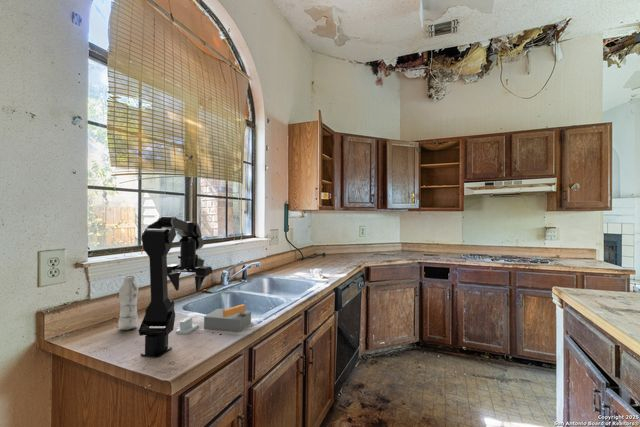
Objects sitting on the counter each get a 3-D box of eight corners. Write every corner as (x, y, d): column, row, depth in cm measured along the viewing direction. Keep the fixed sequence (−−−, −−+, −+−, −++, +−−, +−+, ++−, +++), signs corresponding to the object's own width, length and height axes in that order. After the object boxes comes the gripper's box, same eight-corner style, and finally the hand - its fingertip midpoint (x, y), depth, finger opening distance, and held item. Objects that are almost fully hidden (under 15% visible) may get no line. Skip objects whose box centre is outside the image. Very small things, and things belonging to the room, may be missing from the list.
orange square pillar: (245, 314, 117) (245, 304, 117) (225, 320, 109) (225, 310, 109) (242, 313, 118) (242, 304, 118) (222, 319, 110) (222, 309, 110)
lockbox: (240, 331, 111) (240, 319, 111) (203, 328, 114) (204, 316, 114) (251, 322, 121) (251, 311, 121) (217, 319, 124) (217, 308, 124)
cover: (187, 335, 108) (187, 323, 108) (175, 333, 109) (175, 322, 109) (198, 327, 115) (198, 317, 115) (187, 326, 116) (187, 316, 116)
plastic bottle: (122, 333, 108) (123, 279, 108) (115, 329, 112) (116, 276, 112) (141, 328, 113) (142, 276, 113) (134, 324, 117) (134, 274, 117)
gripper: (219, 251, 125) (219, 287, 125) (180, 249, 129) (179, 284, 129) (204, 254, 114) (204, 294, 114) (162, 252, 118) (161, 291, 118)
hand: (187, 291), depth 119 cm, fingers open, 9 cm apart
